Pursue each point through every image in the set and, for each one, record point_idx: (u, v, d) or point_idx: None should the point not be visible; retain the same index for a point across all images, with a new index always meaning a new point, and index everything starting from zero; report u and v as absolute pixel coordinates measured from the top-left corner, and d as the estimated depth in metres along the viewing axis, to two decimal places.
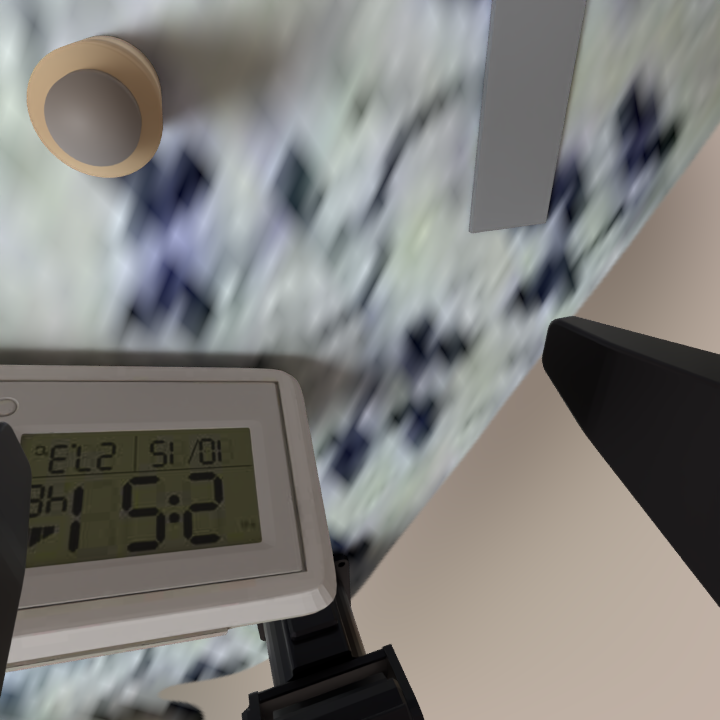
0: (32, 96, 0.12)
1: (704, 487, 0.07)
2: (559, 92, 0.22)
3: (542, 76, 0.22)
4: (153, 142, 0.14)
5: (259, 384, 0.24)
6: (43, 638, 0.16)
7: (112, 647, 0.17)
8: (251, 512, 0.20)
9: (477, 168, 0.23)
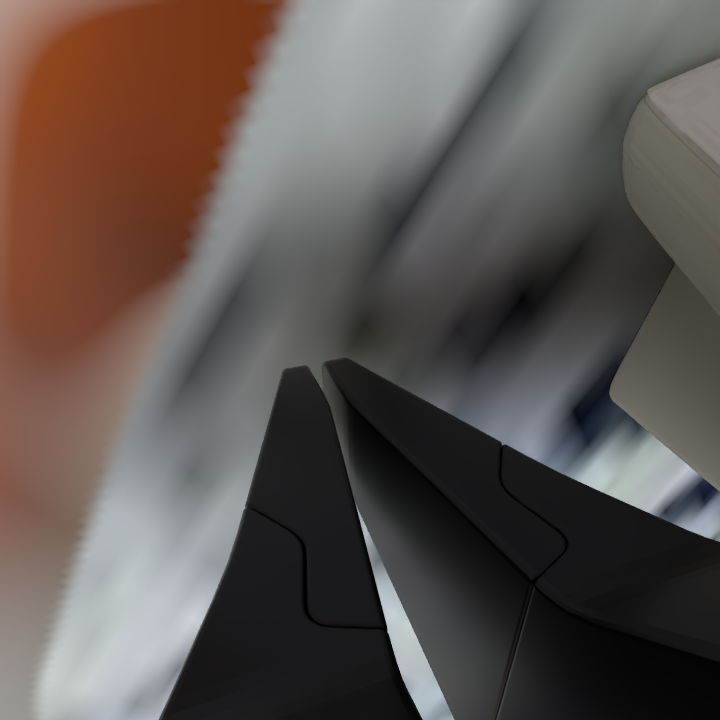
0: None
1: (420, 573, 0.06)
2: None
3: None
4: None
5: None
6: None
7: None
8: None
9: None
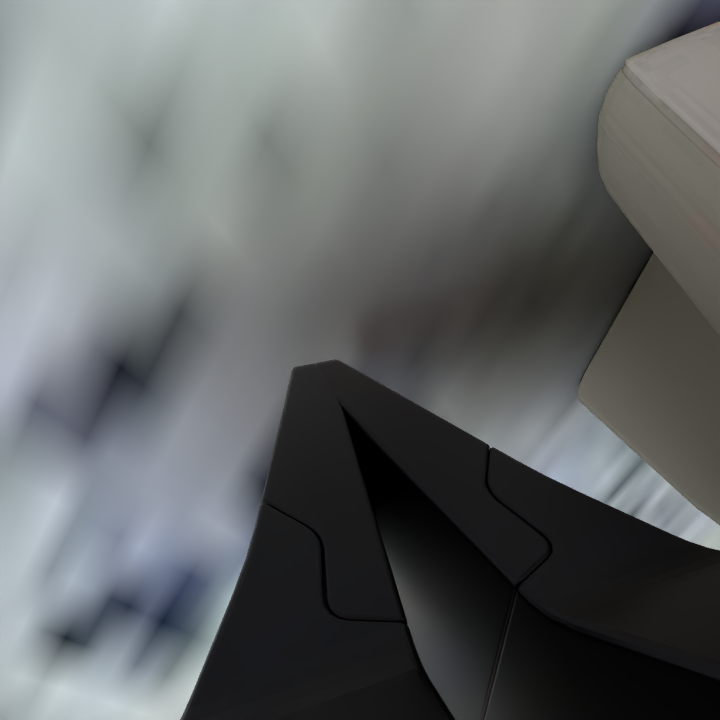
0: None
1: (408, 576, 0.06)
2: None
3: None
4: None
5: None
6: None
7: None
8: None
9: None
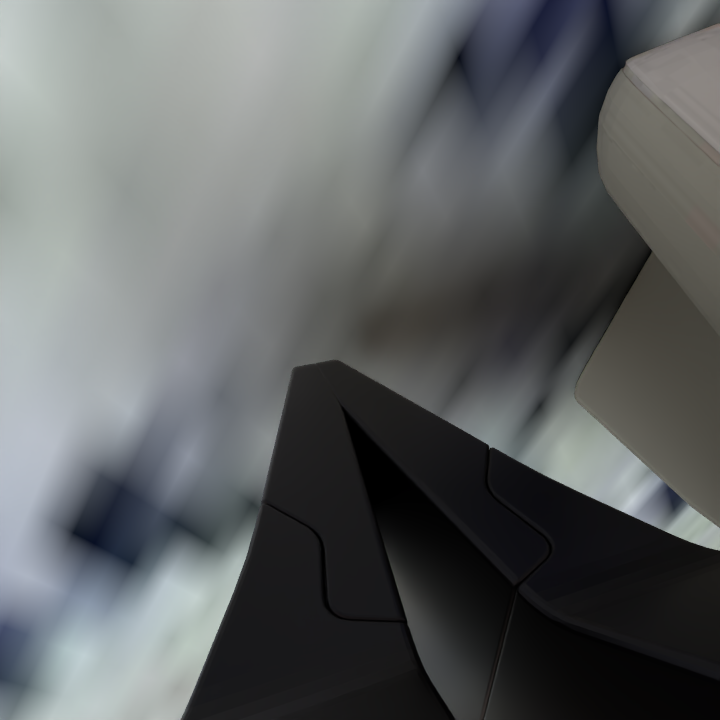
0: None
1: (408, 576, 0.06)
2: None
3: None
4: None
5: None
6: None
7: None
8: None
9: None
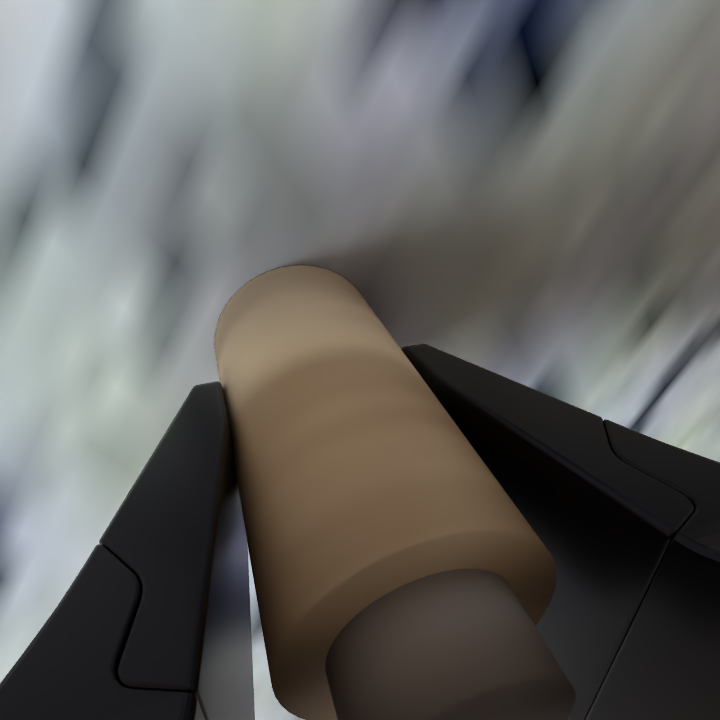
0: (288, 649, 0.05)
1: None
2: None
3: None
4: None
5: None
6: None
7: None
8: None
9: None
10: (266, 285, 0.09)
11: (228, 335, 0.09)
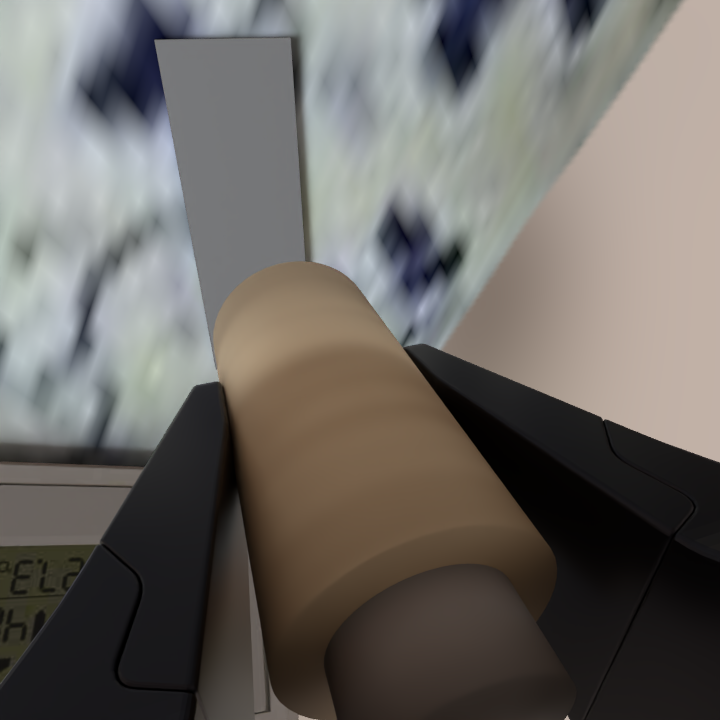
0: (286, 645, 0.05)
1: None
2: (289, 222, 0.19)
3: (260, 207, 0.19)
4: None
5: None
6: None
7: None
8: None
9: None
10: (265, 281, 0.09)
11: (227, 331, 0.08)
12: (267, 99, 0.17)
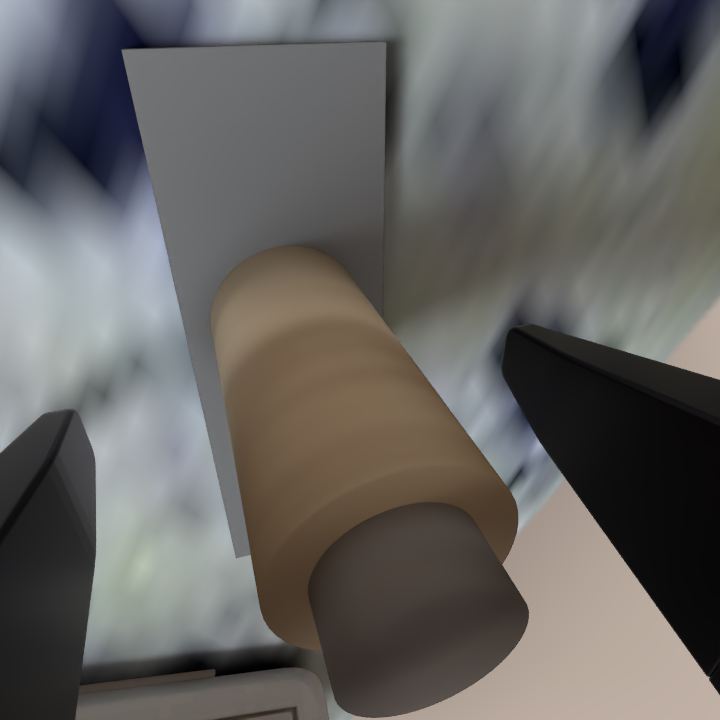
0: (274, 572, 0.05)
1: (653, 502, 0.07)
2: None
3: None
4: None
5: (269, 719, 0.16)
6: None
7: None
8: None
9: (218, 476, 0.12)
10: (259, 263, 0.09)
11: (223, 310, 0.09)
12: (336, 156, 0.09)
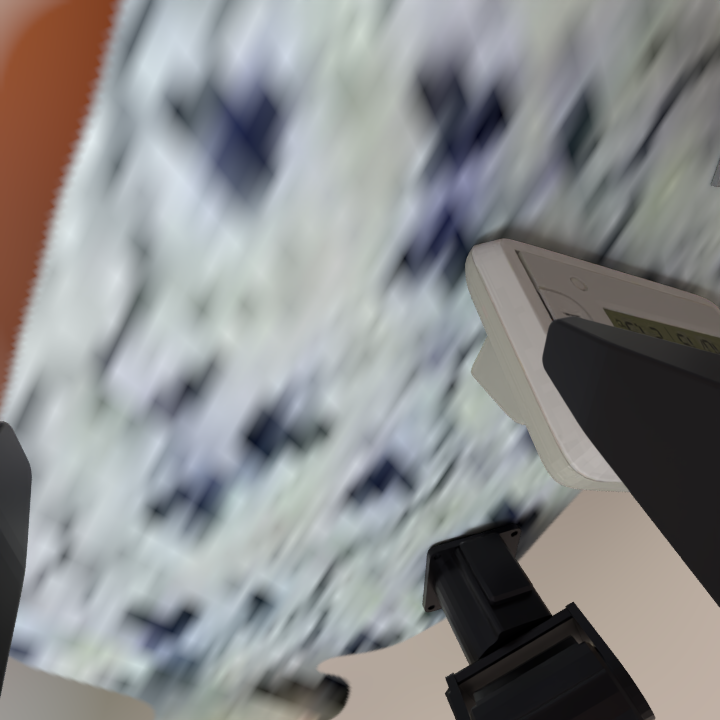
0: None
1: (704, 487, 0.07)
2: None
3: None
4: None
5: (705, 306, 0.26)
6: None
7: None
8: None
9: None
10: None
11: None
12: None
